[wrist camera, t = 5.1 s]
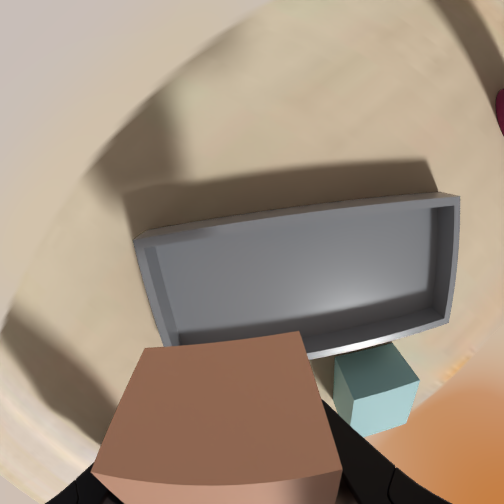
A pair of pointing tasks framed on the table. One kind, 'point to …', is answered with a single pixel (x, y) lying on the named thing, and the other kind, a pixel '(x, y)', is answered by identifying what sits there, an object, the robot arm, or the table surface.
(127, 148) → the table surface
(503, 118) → the cup
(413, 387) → the teal block
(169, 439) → the terracotta block
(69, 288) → the table surface
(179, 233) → the tray
